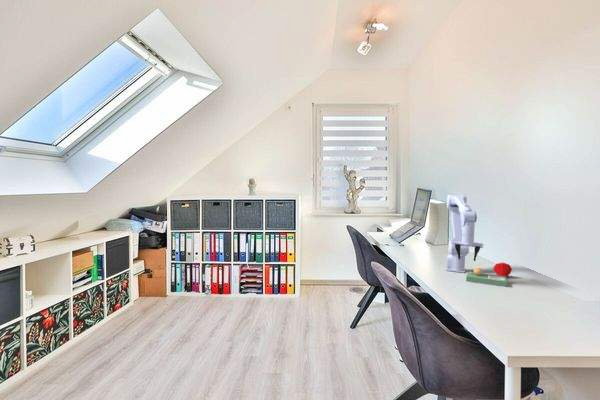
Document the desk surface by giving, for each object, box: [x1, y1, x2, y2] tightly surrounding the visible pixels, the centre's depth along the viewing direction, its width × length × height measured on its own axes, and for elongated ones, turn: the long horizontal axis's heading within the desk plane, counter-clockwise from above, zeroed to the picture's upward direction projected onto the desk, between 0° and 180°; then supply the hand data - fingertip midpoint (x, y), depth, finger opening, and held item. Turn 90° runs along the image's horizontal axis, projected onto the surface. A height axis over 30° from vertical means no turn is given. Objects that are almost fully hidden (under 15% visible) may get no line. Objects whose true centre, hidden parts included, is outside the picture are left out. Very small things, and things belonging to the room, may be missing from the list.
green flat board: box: [465, 271, 508, 288], centre depth 187 cm, size 18×11×2 cm, turn 62°
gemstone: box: [493, 262, 513, 278], centre depth 194 cm, size 9×9×10 cm
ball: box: [473, 267, 483, 275], centre depth 189 cm, size 4×4×4 cm
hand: (466, 259), depth 191 cm, fingers open, 7 cm apart
